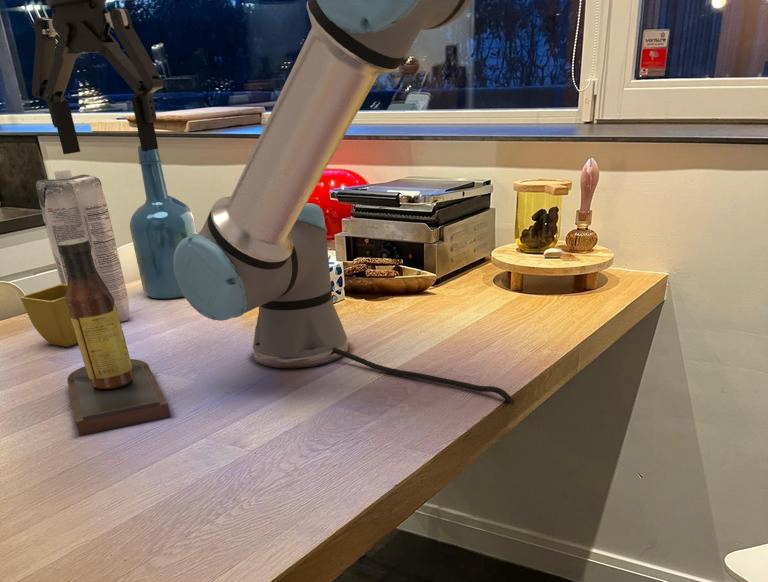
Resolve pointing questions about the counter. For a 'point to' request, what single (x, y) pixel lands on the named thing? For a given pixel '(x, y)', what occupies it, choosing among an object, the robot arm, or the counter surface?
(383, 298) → the counter surface
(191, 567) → the counter surface
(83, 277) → the sauce bottle
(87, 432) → the board
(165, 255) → the wine bottle
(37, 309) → the flower pot
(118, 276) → the juice carton
